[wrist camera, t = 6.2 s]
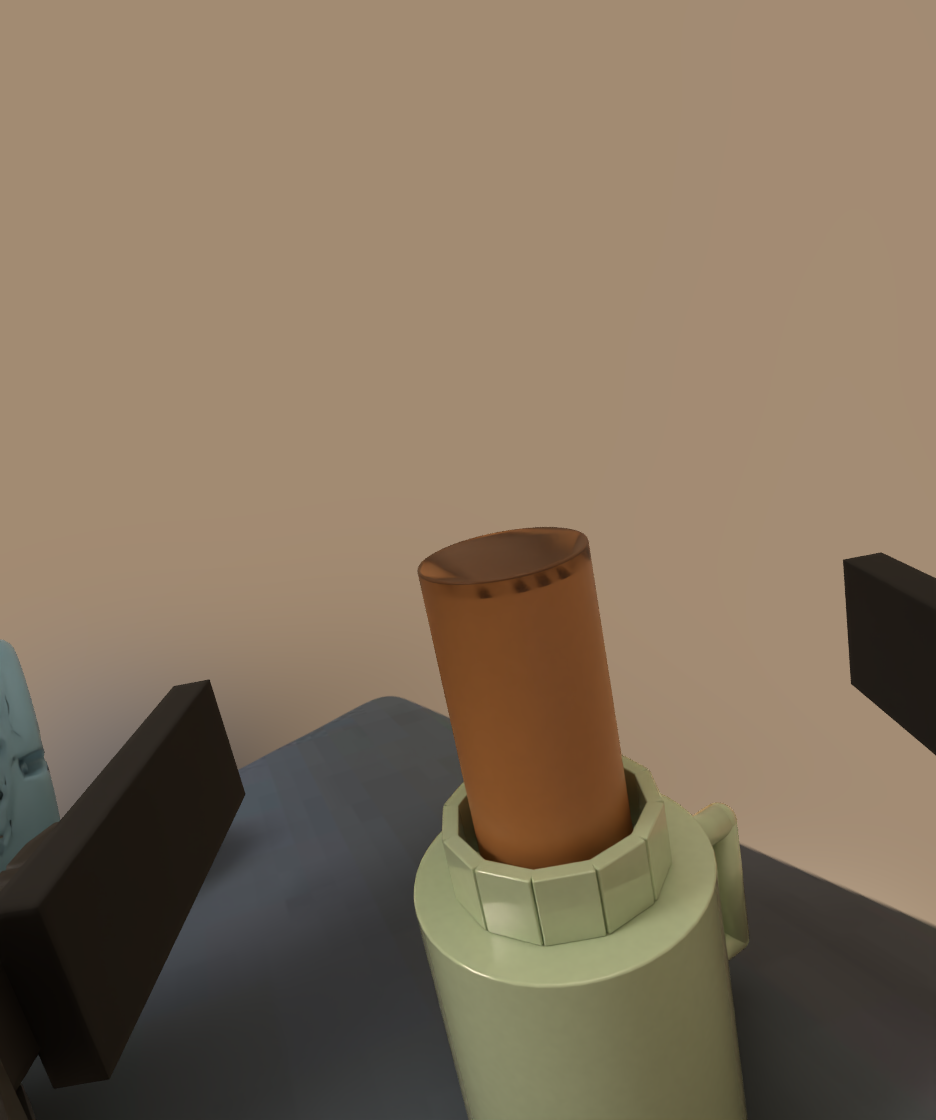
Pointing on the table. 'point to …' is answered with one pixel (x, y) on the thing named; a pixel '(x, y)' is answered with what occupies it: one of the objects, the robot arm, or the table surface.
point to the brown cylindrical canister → (529, 694)
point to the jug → (592, 968)
